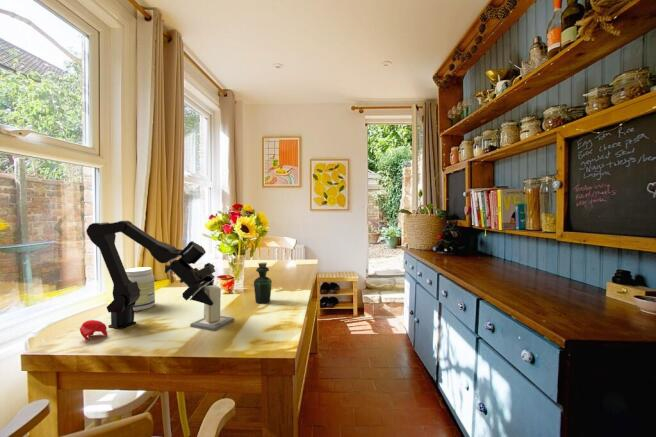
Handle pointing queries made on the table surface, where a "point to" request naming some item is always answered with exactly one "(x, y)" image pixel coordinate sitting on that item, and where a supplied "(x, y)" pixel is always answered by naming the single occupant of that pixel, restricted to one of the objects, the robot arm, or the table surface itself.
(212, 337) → the table surface
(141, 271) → the supplement tub
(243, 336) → the table surface
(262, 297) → the potion bottle
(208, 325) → the slate pad
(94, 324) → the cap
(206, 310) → the skincare box
